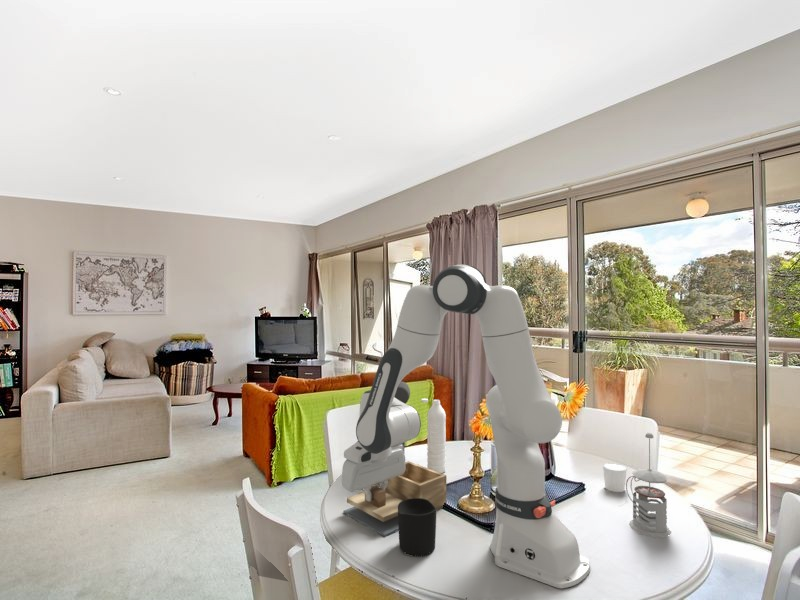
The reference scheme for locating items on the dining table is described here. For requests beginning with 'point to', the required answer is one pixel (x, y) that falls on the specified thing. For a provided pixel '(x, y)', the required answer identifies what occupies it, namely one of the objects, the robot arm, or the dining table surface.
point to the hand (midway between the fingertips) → (375, 498)
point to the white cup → (614, 477)
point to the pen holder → (417, 526)
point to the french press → (649, 521)
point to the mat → (374, 521)
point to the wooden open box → (419, 485)
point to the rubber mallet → (402, 395)
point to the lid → (377, 504)
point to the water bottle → (436, 437)
